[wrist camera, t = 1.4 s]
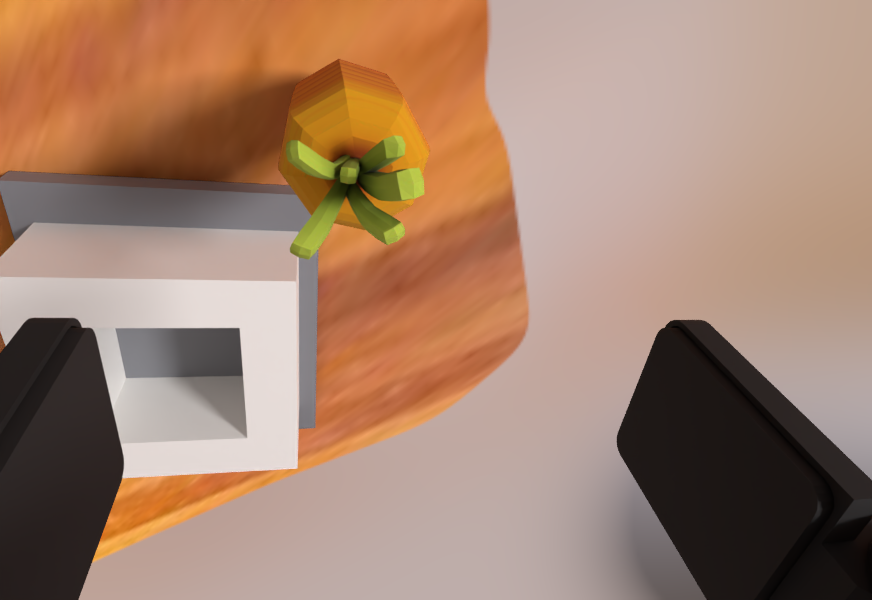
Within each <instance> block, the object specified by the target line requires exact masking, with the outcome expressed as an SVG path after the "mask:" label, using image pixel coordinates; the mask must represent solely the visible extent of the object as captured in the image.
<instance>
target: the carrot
mask: <svg viewBox="0 0 872 600" xmlns="http://www.w3.org/2000/svg"><path fill="white" fill-rule="evenodd" d="M429 153H430V148H429V145H428V143H427V141H426V139H425V138H424V136H423V134H422V132H421V130H420V128H419V126H418V124H417V122H416V120H415V118H414V116H413V114H412V112H411V110H410V108H409V107H408V105H407V103H406V101H405V99H404V97H403V95H402V93H401V92H400V91H399V89H398V88H397V86H396V85H395V83H394V82H393V81H392V80H391V79H390V78H389V76H388V75H387V74H384V73H381V72H378V71H375V70H372V69H369V68H366V67H363V66H359V65H356V64H353V63H350V62H347V61H344V60H340V59H338V60H336V61H334V62H333V63H331V64H329V65H327V66H326V67H324V68H322V69H321V70H319V71H317V72H316V73H314V74H312V75H310V76H309V77H307V78H305V79H304V80H302V81H301V82H299V83H298V84H297V85H296V87H295V90H294V92H293V95H292V99H291V103H290V107H289V112H288V117H287V122H286V127H285V133H284V138H283V143H282V148H281V153H280V158H279V164H278V169H279V171H280V172H281V174H282V175H283V177H284V178H285V179H286V181H287V182H288V184H289V185H290V186H291V188H292V189H293V191H294V192H295V194H296V195H297V196H298V198H299V199H300V201H301V202H302V203H303V205H304V206H305V208H306V209H307V210H308V212H309V213H310V215H311V218H310V219H309V220H308V222H307V223H306V224H305V225H304V227H303V228H302V229H301V231H300V232H299V233H298V235H297V236H296V238H295V239H294V241H293V242H292V244H291V247H290V253H292V254H294V255H295V256H297V257H299V258H303V259H308V260H309V259H310V258H311V257H312V256H313V255H314V254H315V253H316V251H317V250H318V248H319V247H320V246H321V244H322V243H323V241H324V240H325V238H326V237H327V235H328V234H329V232H330V229H331V227H332V225H333V223H336V224H340V225H345V226H349V227H354V228H358V229H363V230H367V231H368V232H369V233H370V234H372V235H373V236H374V237H375V238H377V239H378V240H380V241H381V242H383V243H385V244H386V245H389V244H391V243H394V242H396V241H398V240H399V239H400V238H401V237H403V236H404V235H405V228H404V226H403V225H402V223H401V222H400V221H398V220H397V219H395V218H394V217H392V216H393V215H395V214H397V213H399V212H401V211H403V210H404V209H406V208H408V207H410V206H412V205H413V202H414V199H415V198H416V197H419V196H421V195H424V180H423V177H422V174H423V171H424V168H425V165H426V162H427V159H428V156H429Z"/></svg>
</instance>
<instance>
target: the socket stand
mask: <svg viewBox="0 0 872 600" xmlns="http://www.w3.org/2000/svg"><path fill="white" fill-rule="evenodd" d="M0 193H1V196H2V199H3V203H4V206H5V209H6V213H7V216H8V219H9V223H10V226H11V229H12V233H13V236H14V239H15V242H14V243H13V244H12V245H11V246H10V248H9V249H8V250H7V251H6V252H5V253H4V254H3V255H2V256H1V257H0V332H1V335H2V337H3V340H4V343H5V346H6V345H7V344H8V343H9V341H10V340H11V339H12V338H13V336H14V335H15V334H16V332H17V331H18V330H19V329H20V327H21V326H22V325H23V323H24V322H25V321H26V320H28V319H30V318H76V319H78V321H79V322H80V323H81V326H82V328H92V329H93V330H94V332H95V335H96V338H97V343H98V347H99V351H100V356H101V360H102V364H103V369H104V373H105V377H106V382H107V386H108V390H109V395H110V399H111V403H112V408H113V412H114V416H115V421H116V425H117V429H118V434H119V438H120V442H121V447H122V451H123V456H124V471H123V477H122V478H134V477H152V476H170V475H188V474H206V473H224V472H242V471H260V470H278V469H296V468H297V464H298V430H299V429H304V428H315V411H316V352H317V293H318V250H317V251H316V253H315V254H314V255H313V256H312V257H311V258H310V259H309V260H308V259H303V258H299V257H297V256H295V255H294V254H292V253H290V247H291V244H292V242H293V241H294V239H295V238H296V236H297V235H298V233H299V232H300V231H301V229H302V228H303V227H304V225H305V224H306V223H307V222H308V220H309V219H310V218H311V215H310V213H309V212H308V210H307V209H306V208H305V206H304V205H303V203H302V202H301V201H300V199H299V198H298V196H297V195H296V194H295V192H294V191H293V189H292V188H291V186H290V185H271V184H252V183H232V182H213V181H194V180H174V179H155V178H136V177H116V176H97V175H78V174H59V173H39V172H20V171H8V172H7V173H6V174H4V175H3V176H2V177H1V178H0Z"/></svg>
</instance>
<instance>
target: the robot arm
mask: <svg viewBox="0 0 872 600" xmlns="http://www.w3.org/2000/svg"><path fill="white" fill-rule="evenodd" d="M617 447H618V451H619V453H620V455H621V457H622V458H623V460H624V462H625V463H626V465H627V467H628V468H629V470H630V472H631V473H632V475H633V477H634V478H635V480H636V482H637V483H638V485H639V487H640V489H641V490H642V492H643V493H644V495H645V497H646V499H647V500H648V502H649V504H650V505H651V507H652V509H653V510H654V512H655V514H656V515H657V517H658V519H659V520H660V522H661V524H662V525H663V527H664V529H665V530H666V532H667V534H668V535H669V537H670V539H671V540H672V542H673V544H674V545H675V547H676V549H677V550H678V552H679V554H680V555H681V557H682V559H683V560H684V562H685V564H686V566H687V567H688V569H689V571H690V572H691V574H692V575H693V577H694V579H695V581H696V582H697V584H698V586H699V587H700V589H701V591H702V592H703V594H704V595H705V597H706V599H707V600H872V480H871V479H870V478H869V477H868V476H867V475H866V474H865V473H864V472H862V470H860V469H859V468H858V467H857V466H856V465H855V464H854V463H853V462H852V461H851V460H850V459H849V458H848V457H847V456H846V455H845V454H844V453H843V452H842V451H841V450H840V449H839V448H838V447H837V446H836V445H835V444H834V443H833V442H832V441H830V440H829V439H828V438H827V437H826V436H825V435H824V434H823V433H822V432H821V431H820V430H819V429H818V428H817V427H816V426H815V425H814V424H813V423H812V422H811V421H810V420H809V419H808V418H807V417H806V416H805V415H803V414H802V413H801V412H800V411H799V410H798V409H797V408H796V407H795V406H794V405H793V404H792V403H791V402H790V401H789V400H788V399H787V398H786V397H785V396H784V395H783V394H782V393H781V392H780V391H779V390H778V389H777V388H775V387H774V386H773V385H772V384H771V383H770V382H769V381H768V380H767V379H766V378H765V377H764V376H763V375H762V374H761V373H760V372H759V371H758V370H757V369H755V367H754V366H753V365H751V364H750V363H749V362H748V361H747V360H746V359H745V358H744V357H743V356H742V355H741V354H740V353H739V352H738V351H737V350H736V349H735V348H734V347H733V346H732V345H731V344H730V343H729V342H728V341H727V340H726V339H725V338H724V337H722V335H720V334H719V333H718V332H717V331H716V330H715V329H714V328H713V327H712V326H711V325H710V324H709V323H707V322H706V321H702V320H673V321H670V322H669V323H668V324H667V325H666V327H665V328H663V329H661V330H660V331H659V332H658V334H657V336H656V338H655V341H654V343H653V346H652V348H651V351H650V354H649V356H648V358H647V361H646V364H645V366H644V369H643V371H642V374H641V376H640V379H639V381H638V384H637V386H636V389H635V391H634V394H633V396H632V399H631V401H630V404H629V407H628V409H627V411H626V414H625V417H624V419H623V422H622V424H621V426H620V429H619V432H618V435H617ZM123 471H124V456H123V451H122V447H121V442H120V438H119V434H118V429H117V425H116V421H115V416H114V412H113V408H112V403H111V399H110V395H109V390H108V386H107V382H106V377H105V373H104V369H103V364H102V360H101V356H100V351H99V347H98V343H97V338H96V335H95V332H94V330H93V329H92V328H82V326H81V323H80V322H79V321H78V319H76V318H30V319H28V320H26V321H25V322H24V323H23V325H22V326H21V327H20V329H19V330H18V331H17V332H16V334H15V335H14V336H13V338H12V339H11V340H10V341H9V343H8V344H7V345H6V347H5V348H4V349H3V351H2V352H1V353H0V600H78V599H79V596H80V593H81V591H82V588H83V585H84V582H85V580H86V577H87V574H88V571H89V569H90V566H91V563H92V560H93V558H94V555H95V552H96V549H97V547H98V544H99V541H100V538H101V536H102V533H103V530H104V527H105V525H106V522H107V519H108V516H109V514H110V511H111V508H112V505H113V503H114V500H115V497H116V494H117V492H118V489H119V486H120V483H121V480H122V477H123Z"/></svg>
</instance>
